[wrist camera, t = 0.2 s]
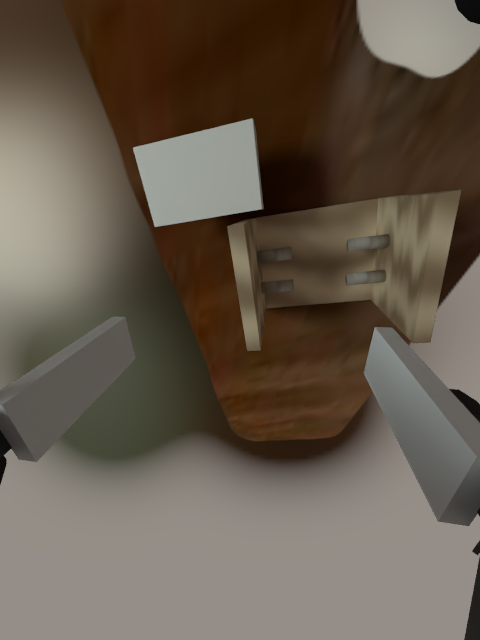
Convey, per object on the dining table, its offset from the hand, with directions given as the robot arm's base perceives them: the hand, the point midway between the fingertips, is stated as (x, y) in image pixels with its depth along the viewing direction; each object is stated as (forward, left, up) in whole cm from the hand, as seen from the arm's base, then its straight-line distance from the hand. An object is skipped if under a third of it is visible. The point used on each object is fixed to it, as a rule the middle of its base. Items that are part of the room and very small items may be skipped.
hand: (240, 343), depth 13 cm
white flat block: (-10, -6, -21) cm, 24 cm away
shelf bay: (+2, +7, -27) cm, 28 cm away
